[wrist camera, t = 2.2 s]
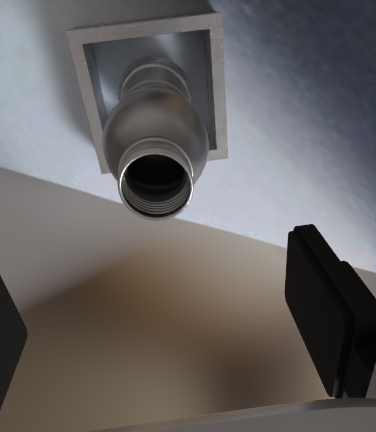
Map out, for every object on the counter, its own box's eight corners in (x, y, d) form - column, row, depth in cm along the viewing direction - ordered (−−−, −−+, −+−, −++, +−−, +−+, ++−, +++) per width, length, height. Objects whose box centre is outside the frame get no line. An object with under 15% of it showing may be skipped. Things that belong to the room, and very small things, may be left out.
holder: (75, 27, 30) (65, 31, 27) (214, 10, 30) (221, 12, 27) (106, 157, 37) (101, 174, 33) (221, 143, 37) (228, 158, 33)
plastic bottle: (177, 42, 31) (202, 95, 14) (197, 114, 35) (237, 224, 18) (109, 65, 32) (57, 142, 15) (136, 134, 35) (119, 259, 19)
